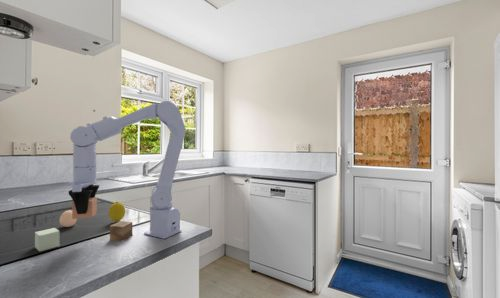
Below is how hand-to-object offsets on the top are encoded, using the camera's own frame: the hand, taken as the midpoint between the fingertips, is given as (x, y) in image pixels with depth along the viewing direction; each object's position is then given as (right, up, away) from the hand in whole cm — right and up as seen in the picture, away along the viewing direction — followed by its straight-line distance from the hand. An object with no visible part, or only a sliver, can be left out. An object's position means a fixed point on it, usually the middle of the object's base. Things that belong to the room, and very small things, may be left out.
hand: (85, 211), depth 72 cm
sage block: (-8, -10, -4) cm, 13 cm away
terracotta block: (0, -1, 0) cm, 1 cm away
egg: (-15, -9, +13) cm, 22 cm away
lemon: (0, -9, +18) cm, 20 cm away
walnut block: (+9, -10, +3) cm, 14 cm away
